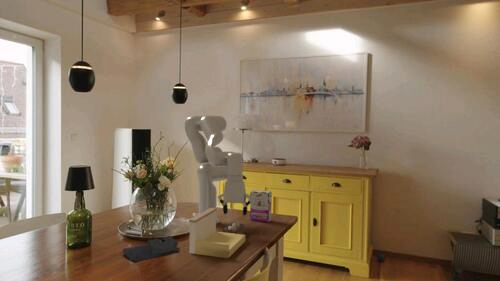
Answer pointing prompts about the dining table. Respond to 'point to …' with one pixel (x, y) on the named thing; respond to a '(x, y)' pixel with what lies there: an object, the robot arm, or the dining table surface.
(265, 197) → the candy bar box
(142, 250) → the dark slate chunk
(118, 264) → the dining table surface
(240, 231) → the caddy
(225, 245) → the counter shelf
